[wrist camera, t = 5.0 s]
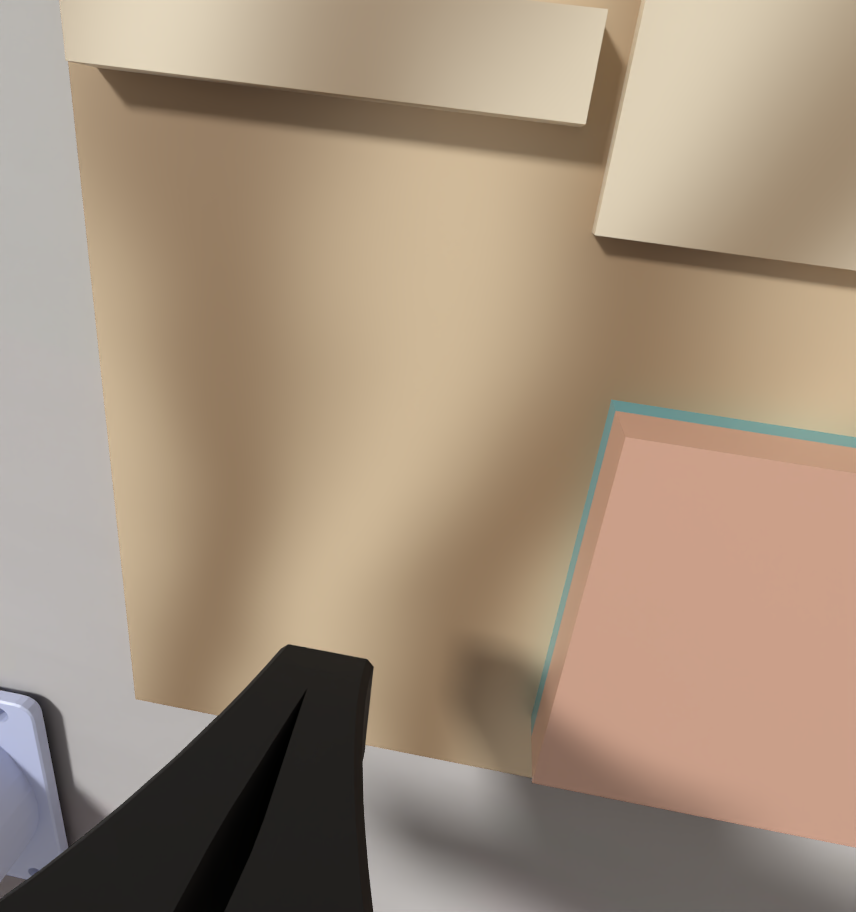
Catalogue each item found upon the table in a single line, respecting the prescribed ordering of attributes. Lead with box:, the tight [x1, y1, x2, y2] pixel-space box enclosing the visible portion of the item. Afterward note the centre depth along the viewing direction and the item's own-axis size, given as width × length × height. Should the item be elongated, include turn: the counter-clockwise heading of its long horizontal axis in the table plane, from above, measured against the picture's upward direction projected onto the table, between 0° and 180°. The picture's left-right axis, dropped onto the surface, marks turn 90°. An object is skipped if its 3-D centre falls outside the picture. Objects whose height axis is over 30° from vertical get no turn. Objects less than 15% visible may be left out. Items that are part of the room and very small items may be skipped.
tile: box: [531, 400, 856, 847], centre depth 12 cm, size 2×8×7 cm
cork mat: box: [68, 0, 856, 778], centre depth 12 cm, size 18×18×1 cm
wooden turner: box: [59, 0, 856, 271], centre depth 9 cm, size 14×4×1 cm, turn 83°
